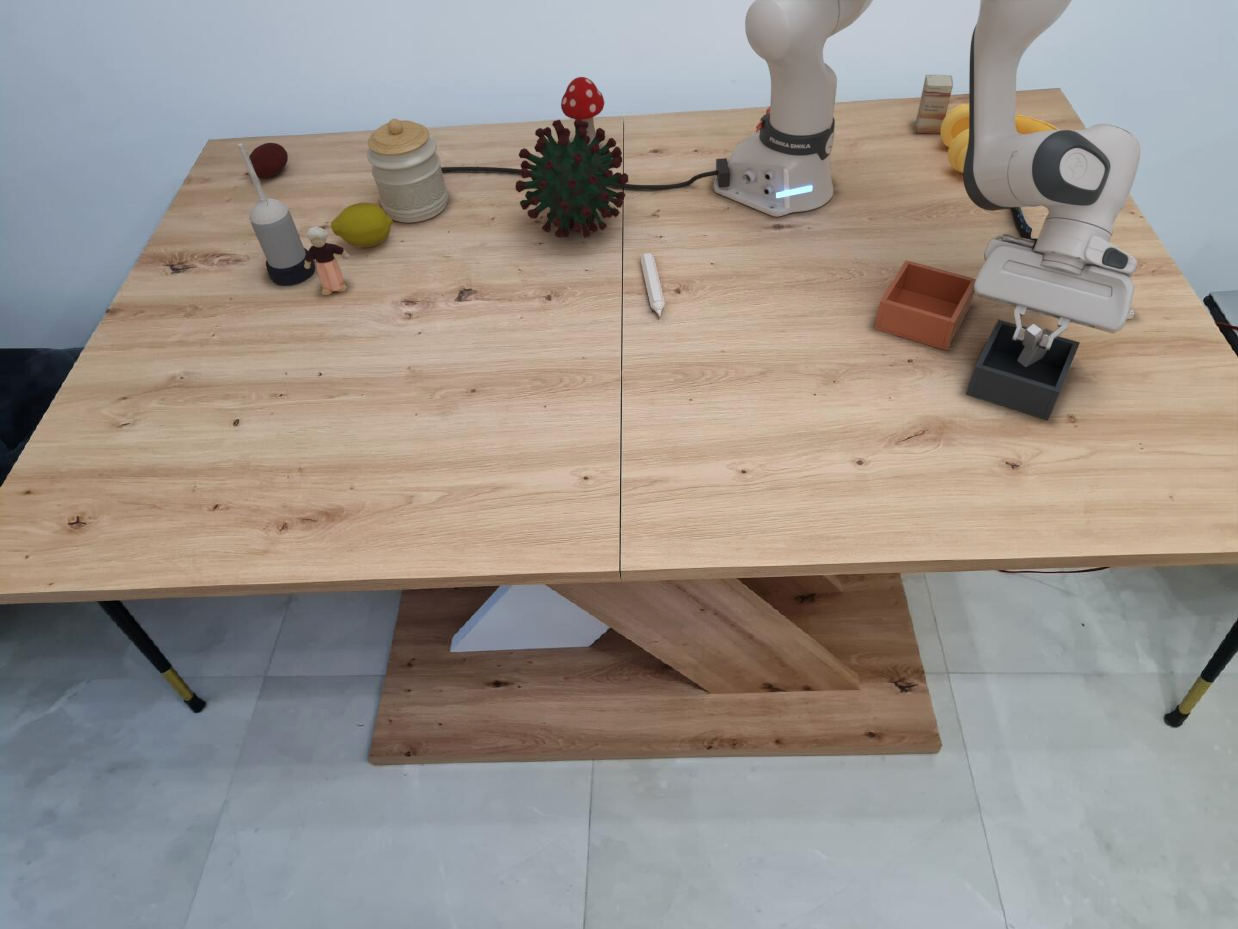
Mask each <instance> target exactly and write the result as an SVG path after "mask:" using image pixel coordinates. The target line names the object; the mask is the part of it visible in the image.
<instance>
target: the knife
mask: <svg viewBox="0 0 1238 929" xmlns="http://www.w3.org/2000/svg"><path fill="white" fill-rule="evenodd" d="M1010 210H1011V214H1012V216H1013V221H1014V224H1015V226H1016V229H1017V231H1018V234H1019V238H1025V239H1029V240H1034V241H1036V240H1037V239H1038V237H1037V238H1036V237H1035V238H1032V233H1033V228H1032V227H1030V226H1029V225H1028V223H1027V221H1026V218H1025V215H1024V214H1023V211H1022V207H1014V208H1010ZM1032 251H1033V250H1032Z"/></svg>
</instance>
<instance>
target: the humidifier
mask: <svg viewBox="0 0 1238 929" xmlns="http://www.w3.org/2000/svg"><path fill="white" fill-rule="evenodd" d="M237 146H238V149H239V151H240V154H241V156H242V159H243V161H244V164H245V167H246V168H247V171H248V173H249V176H250V179H251V181H252V184H253V187H254V188H255V191H256V194H257V195H258V201H256V202H255V204H253V206H252V207H251V209H250V211H249V221H250V224H251V227H252V229H253V232H254V234H255V236H256V238H257V240H258V243H259V245H260V248H261V250H262V251H263V254H264V257H265V259H266V260H265V267H266V272H267V273H268V274H267V275H268V276H269V278H270V280H271V282H272V283H273V284H275V285H277V286H282V287H292V286H296V285H299V284H301V283H304V282H306V281H307V280H308V279H311V277H312V276H313V275H314V273H315V271H316V263H315V262H314V261H315V260H313V261H311V264H310V268H309V269H306V268H305V267H304V264H305V257H306V254H307V252H308V250H309V249H307V248H305V246H304V244H303V242H302V239H301V237H300V234H299V231H298V229H297V227H296V224H295V222H294V218H293V217H292V214H291V211H290V209H289V208H288V206H287V205H286V204H285V203H284V202H282V201H280V200H278V199H275V198H272V197H271V198H270V197H267V196H266V194H265V192H264V190H263V186H262V183H261V181H260V178H258V177H256V176H257V175H256V173H255V171H254V168H252V167H253V165H251V164H252V163H250V162H251V160H250V161H249V159H250V158H249V156H250V154H248V151H247V150H246V149H245V147H244V144H243V143H242V142H241V143H238V144H237Z"/></svg>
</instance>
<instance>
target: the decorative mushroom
mask: <svg viewBox="0 0 1238 929" xmlns="http://www.w3.org/2000/svg"><path fill="white" fill-rule="evenodd" d="M604 107H605V98H604V95H603V93H602V92H601V91H600V90H599V89H598V87H597V86H596V84H595V83H594V81H592V80H591V79H590V78H588V77H585V76H578V77H575V78H574V79H572V80H571V81H570V82H569V83H568V85H567V87H566V90H565V92H564V94H563V96H562V97H561V102H560V108H561V112H562V114H564V116H566V117H568V119H572V120H574V121H575V120H577V119H578V120H582V121H585V122H588V128H587V131H588V132H587V135H588V136H589V137H590V142H589V144H590V143H591V142H592V140H593V139H594V137H595V135H596V128H595V122H594V117H597V116H598V115H599V114H601V112H602V111H603V110H604ZM589 144H588V145H589ZM599 147H600V148H601V142H600V143H599Z"/></svg>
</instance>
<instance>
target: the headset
mask: <svg viewBox="0 0 1238 929" xmlns="http://www.w3.org/2000/svg"><path fill="white" fill-rule="evenodd" d="M1015 127H1016V130H1017V132H1018V134H1020V135H1023V134H1031V133H1035V132H1041V131H1049V130H1060V128H1058V127H1057V126H1055V125H1053V124H1052V123H1049V122H1047V121H1043V120H1041V119H1038V118H1035V117H1031V116H1026V115H1022V114H1017V113H1015ZM940 138H941V141H942V143H943V144H944V145H945V146H946V147H947V148H948V149H947V158H948V162H949V164H950V165H951V167H952V168H953V169H954V170H956V171H957V172H959V173H961V174H963V169H964V162H965V157H966V153H967V148H968V141H969V103H962V104H961V103H960V104H958V105H956V106H954V107H952V108H951V109H950V110H948V111H947V113H946V116H945V118H944V119H943V121H942V124H941V134H940Z"/></svg>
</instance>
